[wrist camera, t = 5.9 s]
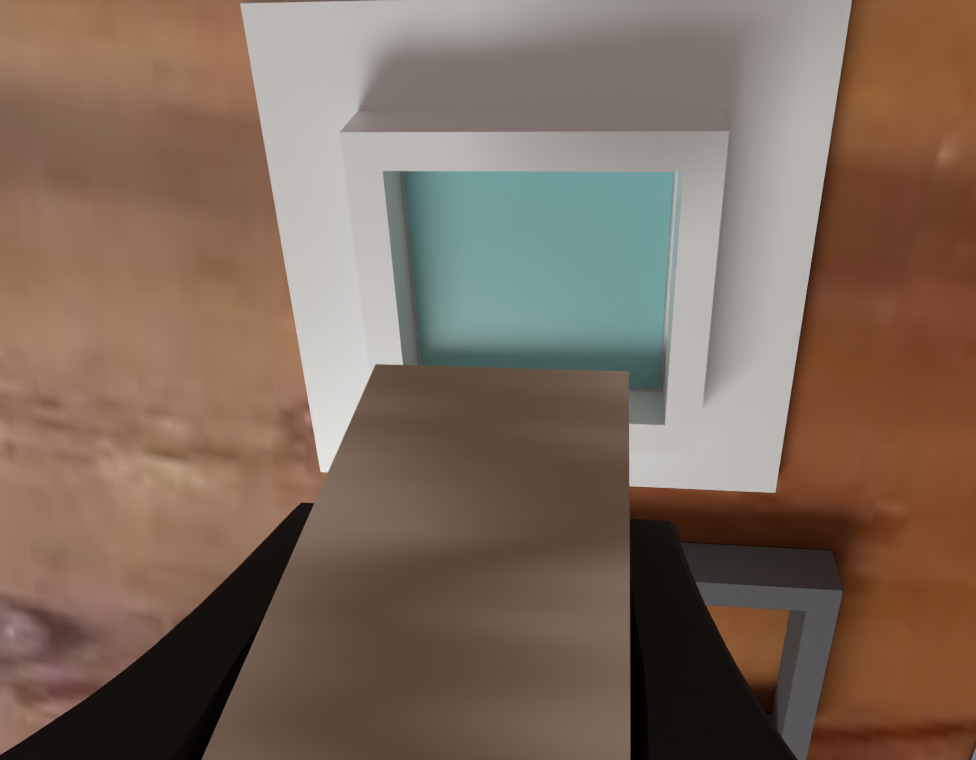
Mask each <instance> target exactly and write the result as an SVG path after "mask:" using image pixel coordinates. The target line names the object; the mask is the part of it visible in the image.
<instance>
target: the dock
mask: <svg viewBox="0 0 976 760" xmlns="http://www.w3.org/2000/svg"><path fill="white" fill-rule="evenodd" d="M851 4H852V0H246V1H244V2H242V3H240V5H241V11H242V16H243V22H244V28H245V34H246V40H247V46H248V51H249V57H250V63H251V69H252V75H253V80H254V86H255V92H256V98H257V104H258V110H259V115H260V121H261V127H262V133H263V139H264V145H265V150H266V156H267V162H268V168H269V174H270V180H271V185H272V191H273V197H274V203H275V209H276V215H277V220H278V226H279V232H280V238H281V244H282V249H283V255H284V261H285V267H286V273H287V279H288V284H289V290H290V296H291V302H292V308H293V314H294V319H295V325H296V331H297V337H298V343H299V349H300V354H301V360H302V366H303V372H304V378H305V384H306V389H307V395H308V401H309V407H310V413H311V419H312V424H313V430H314V436H315V442H316V448H317V453H318V459H319V465H320V471H321V472H328V471H329V469H330V467H331V464H332V462H333V460H334V457H335V455H336V453H337V451H338V448H339V446H340V444H341V442H342V439H343V437H344V435H345V433H346V430H347V428H348V426H349V423H350V421H351V419H352V417H353V414H354V412H355V410H356V408H357V405H358V403H359V401H360V398H361V396H362V394H363V392H364V389H365V387H366V385H367V383H368V380H369V378H370V376H371V373H372V371H373V369H374V367H375V364H388V365H423V366H457V367H491V368H525V369H560V370H594V371H628V372H629V486H639V487H661V488H683V489H705V490H726V491H748V492H770V493H775V491H776V485H777V479H778V472H779V466H780V459H781V453H782V446H783V440H784V434H785V427H786V421H787V414H788V408H789V402H790V395H791V389H792V382H793V376H794V369H795V363H796V357H797V350H798V344H799V337H800V331H801V324H802V318H803V312H804V305H805V299H806V292H807V286H808V280H809V273H810V267H811V260H812V254H813V247H814V241H815V235H816V228H817V222H818V215H819V209H820V203H821V196H822V190H823V183H824V177H825V170H826V164H827V158H828V151H829V145H830V138H831V132H832V126H833V119H834V113H835V106H836V100H837V93H838V87H839V81H840V74H841V68H842V61H843V55H844V49H845V42H846V36H847V29H848V23H849V16H850V10H851Z"/></svg>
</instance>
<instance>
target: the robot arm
mask: <svg viewBox="0 0 976 760" xmlns="http://www.w3.org/2000/svg"><path fill="white" fill-rule="evenodd" d="M313 505H314V503H301V504H300V505H298V506H297V507H296V508H295V509H294V510H293V511H292V512H291V513H290V514H289V515H288V516H287V517H286V518H285V519H284V520H283V521H282V522H281V523H280V524H279V525H278V527H277V528H276V529H275V530H274V531H273V532H272V533H271V534H270V535H269V536H268V537H267V538H266V539H265V540H264V541H263V542H262V543H261V544H260V545H259V546H258V547H257V548H256V549H255V550H254V551H253V552H252V553H251V555H250V556H249V557H248V558H247V559H246V560H245V561H244V562H243V563H242V564H241V565H240V566H239V567H238V568H237V569H236V570H235V571H234V572H233V573H232V574H231V575H230V576H229V577H228V578H227V579H226V580H225V581H224V582H223V583H221V584H220V585H219V586H218V587H217V588H216V589H215V590H214V591H213V592H212V593H211V594H210V595H209V596H208V597H207V598H206V599H205V600H204V601H203V602H202V603H201V604H200V605H199V606H198V607H197V608H196V609H195V610H193V611H192V612H191V613H190V614H189V615H188V616H187V617H186V618H184V619H183V620H182V621H181V622H180V623H179V624H178V625H177V626H176V627H174V628H173V629H172V630H171V631H170V632H169V633H168V634H167V635H165V636H164V637H163V638H162V639H161V640H160V641H159V642H158V643H157V644H155V645H154V646H153V647H152V648H151V649H149V650H148V651H147V652H146V653H145V654H143V655H142V656H141V657H140V658H139V659H137V660H136V661H135V662H134V663H133V664H131V665H130V666H129V667H128V668H126V669H125V670H124V671H123V672H121V673H120V674H119V675H117V676H116V677H115V678H113V679H112V680H111V681H109V682H108V683H107V684H105V685H104V686H103V687H101V688H100V689H99V690H97V691H96V692H95V693H93V694H92V695H91V696H89V697H88V698H86V699H85V700H84V701H82V702H81V703H79V704H78V705H76V706H75V707H73V708H72V709H70V710H69V711H67V712H66V713H64V714H63V715H61V716H60V717H58V718H57V719H55V720H54V721H52V722H51V723H49V724H48V725H46V726H45V727H43V728H42V729H40V730H39V731H37V732H36V733H34V734H33V735H31V736H30V737H28V738H27V739H25V740H24V741H22V742H21V743H19V744H17V745H16V746H14V747H13V748H11V749H9V750H8V751H6V752H4V753H3V754H1V755H0V760H202V757H203V755H204V753H205V751H206V748H207V746H208V744H209V742H210V739H211V737H212V735H213V732H214V730H215V728H216V726H217V723H218V721H219V719H220V717H221V714H222V712H223V710H224V707H225V705H226V703H227V701H228V698H229V696H230V694H231V692H232V689H233V687H234V685H235V682H236V680H237V678H238V676H239V673H240V671H241V669H242V667H243V664H244V662H245V660H246V657H247V655H248V653H249V651H250V648H251V646H252V644H253V642H254V639H255V637H256V635H257V632H258V630H259V628H260V626H261V623H262V621H263V619H264V617H265V614H266V612H267V610H268V607H269V605H270V603H271V601H272V598H273V596H274V594H275V592H276V589H277V587H278V585H279V582H280V580H281V578H282V576H283V573H284V571H285V569H286V567H287V564H288V562H289V560H290V557H291V555H292V553H293V551H294V548H295V546H296V544H297V542H298V539H299V537H300V535H301V532H302V530H303V528H304V526H305V523H306V521H307V519H308V517H309V514H310V512H311V510H312V507H313ZM630 759H631V760H798V759H797V758H796V757H795V755H794V754H793V752H792V751H791V750H790V748H789V747H788V745H787V744H786V742H785V741H784V739H783V738H782V737H781V735H780V734H779V732H778V731H777V729H776V728H775V726H774V725H773V723H772V722H771V720H770V719H769V717H768V716H767V714H766V713H765V711H764V710H763V708H762V706H761V705H760V703H759V702H758V700H757V699H756V697H755V695H754V694H753V692H752V690H751V689H750V687H749V685H748V684H747V682H746V680H745V678H744V677H743V675H742V673H741V672H740V670H739V668H738V667H737V665H736V663H735V661H734V659H733V658H732V656H731V654H730V652H729V650H728V648H727V647H726V645H725V643H724V641H723V639H722V637H721V635H720V633H719V631H718V629H717V627H716V625H715V623H714V621H713V619H712V617H711V615H710V613H709V611H708V609H707V607H706V605H705V603H704V600H703V598H702V596H701V594H700V592H699V589H698V587H697V584H696V582H695V580H694V577H693V575H692V573H691V570H690V567H689V565H688V562H687V559H686V557H685V554H684V551H683V548H682V544H681V541H680V538H679V534H678V529H677V527H675V526H674V525H673V524H672V523H671V522H670V521H659V520H639V519H630ZM971 760H976V748H975V751H974V754H973V756H972V759H971Z"/></svg>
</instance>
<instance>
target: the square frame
mask: <svg viewBox="0 0 976 760" xmlns="http://www.w3.org/2000/svg"><path fill="white" fill-rule="evenodd" d="M681 544H682V548H683V551H684V554H685V557H686V559H687V562H688V565H689V567H690V570H691V573H692V575H693V577H694V580H695V582H696V584H697V587H698V589H699V592H700V594H701V596H702V598H703V600H704V603H705V605H715V606H731V607H747V608H764V609H780V610H790V615H789V620H788V626H787V631H786V637H785V642H784V648H783V653H782V659H781V664H780V670H779V675H778V681H777V686H776V692H775V697H774V703H773V708H772V714H767V716H768V717H769V719H770V720H771V722H772V723H773V725H774V726H775V728H776V729H777V731H778V732H779V734H780V735H781V737H782V738H783V739H784V741H785V742H786V744H787V745H788V747H789V748H790V750H791V751H792V752H793V754H794V755H795V757H796V758H797V759H798V760H806V757H807V752H808V748H809V743H810V739H811V734H812V730H813V725H814V720H815V716H816V711H817V707H818V702H819V698H820V693H821V689H822V684H823V680H824V675H825V671H826V666H827V662H828V657H829V653H830V648H831V643H832V639H833V634H834V630H835V625H836V621H837V616H838V612H839V607H840V603H841V598H842V594H843V588H842V585H841V581H840V577H839V574H838V570H837V566H836V563H835V559H834V555H833V552H832V551H830V550H812V549H793V548H774V547H755V546H736V545H718V544H699V543H681Z"/></svg>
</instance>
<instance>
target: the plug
mask: <svg viewBox="0 0 976 760" xmlns="http://www.w3.org/2000/svg"><path fill="white" fill-rule="evenodd" d="M202 760H631V759H630V509H629V372H628V371H594V370H560V369H525V368H491V367H457V366H423V365H388V364H375V367H374V369H373V371H372V373H371V376H370V378H369V380H368V383H367V385H366V387H365V389H364V392H363V394H362V396H361V398H360V401H359V403H358V405H357V408H356V410H355V412H354V414H353V417H352V419H351V421H350V423H349V426H348V428H347V430H346V433H345V435H344V437H343V439H342V442H341V444H340V446H339V448H338V451H337V453H336V455H335V457H334V460H333V462H332V464H331V467H330V469H329V471H328V473H327V476H326V478H325V480H324V482H323V485H322V487H321V489H320V492H319V494H318V496H317V498H316V501H315V503H314V505H313V507H312V510H311V512H310V514H309V517H308V519H307V521H306V523H305V526H304V528H303V530H302V532H301V535H300V537H299V539H298V542H297V544H296V546H295V548H294V551H293V553H292V555H291V557H290V560H289V562H288V564H287V567H286V569H285V571H284V573H283V576H282V578H281V580H280V582H279V585H278V587H277V589H276V592H275V594H274V596H273V598H272V601H271V603H270V605H269V607H268V610H267V612H266V614H265V617H264V619H263V621H262V623H261V626H260V628H259V630H258V632H257V635H256V637H255V639H254V642H253V644H252V646H251V648H250V651H249V653H248V655H247V657H246V660H245V662H244V664H243V667H242V669H241V671H240V673H239V676H238V678H237V680H236V682H235V685H234V687H233V689H232V692H231V694H230V696H229V698H228V701H227V703H226V705H225V707H224V710H223V712H222V714H221V717H220V719H219V721H218V723H217V726H216V728H215V730H214V732H213V735H212V737H211V739H210V742H209V744H208V746H207V748H206V751H205V753H204V755H203V757H202Z"/></svg>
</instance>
